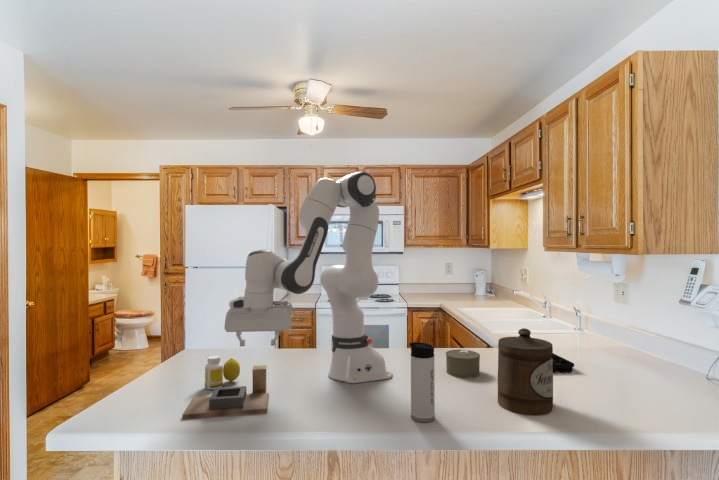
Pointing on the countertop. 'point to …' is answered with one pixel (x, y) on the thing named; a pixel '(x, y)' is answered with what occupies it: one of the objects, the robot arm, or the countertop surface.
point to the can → (463, 363)
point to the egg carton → (561, 364)
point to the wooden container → (525, 374)
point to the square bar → (259, 379)
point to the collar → (227, 398)
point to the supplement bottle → (213, 373)
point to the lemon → (231, 370)
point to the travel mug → (422, 382)
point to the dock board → (251, 406)
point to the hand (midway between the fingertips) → (258, 345)
